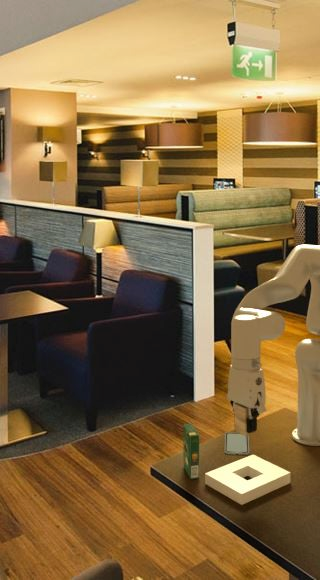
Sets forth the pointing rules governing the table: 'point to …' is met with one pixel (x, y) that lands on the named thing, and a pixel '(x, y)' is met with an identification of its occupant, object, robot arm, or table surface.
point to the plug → (241, 419)
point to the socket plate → (241, 490)
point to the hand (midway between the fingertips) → (245, 428)
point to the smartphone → (236, 444)
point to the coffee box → (191, 451)
